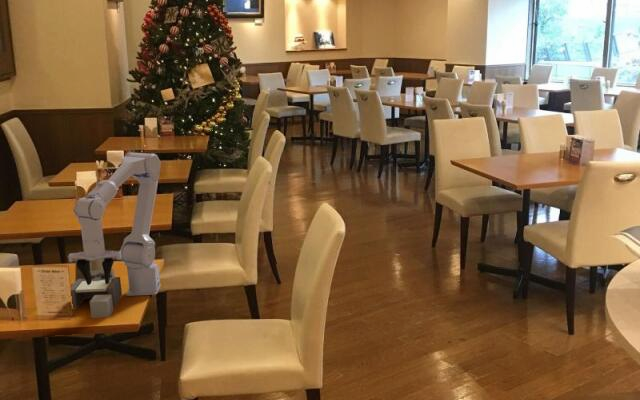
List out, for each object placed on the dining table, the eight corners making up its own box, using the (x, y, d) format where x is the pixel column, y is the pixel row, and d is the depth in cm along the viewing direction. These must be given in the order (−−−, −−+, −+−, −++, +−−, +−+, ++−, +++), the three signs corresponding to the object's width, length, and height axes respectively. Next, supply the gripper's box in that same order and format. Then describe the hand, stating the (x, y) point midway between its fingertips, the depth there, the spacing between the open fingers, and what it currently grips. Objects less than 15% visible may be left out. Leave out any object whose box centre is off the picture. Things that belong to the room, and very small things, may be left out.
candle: (88, 277, 222) (84, 249, 219) (101, 272, 226) (97, 244, 224) (99, 280, 219) (95, 251, 216) (112, 274, 224) (108, 247, 221)
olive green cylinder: (88, 288, 212) (84, 256, 209) (71, 287, 214) (67, 255, 211) (98, 281, 218) (94, 250, 215) (81, 280, 219) (77, 249, 216)
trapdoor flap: (116, 281, 208) (115, 269, 207) (106, 296, 197) (105, 283, 196) (87, 282, 208) (86, 270, 207) (76, 297, 196) (74, 285, 195)
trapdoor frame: (122, 294, 206) (119, 276, 205) (114, 306, 198) (112, 288, 196) (80, 296, 206) (78, 278, 204) (71, 308, 197) (68, 290, 195)
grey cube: (113, 309, 196) (111, 294, 194) (109, 317, 191) (107, 301, 190) (96, 310, 195) (94, 295, 194) (91, 317, 191) (89, 302, 189)
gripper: (62, 244, 183) (68, 289, 187) (115, 242, 184) (120, 287, 188) (70, 236, 190) (76, 280, 194) (121, 234, 191) (126, 278, 194)
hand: (98, 283), depth 191 cm, fingers open, 5 cm apart
